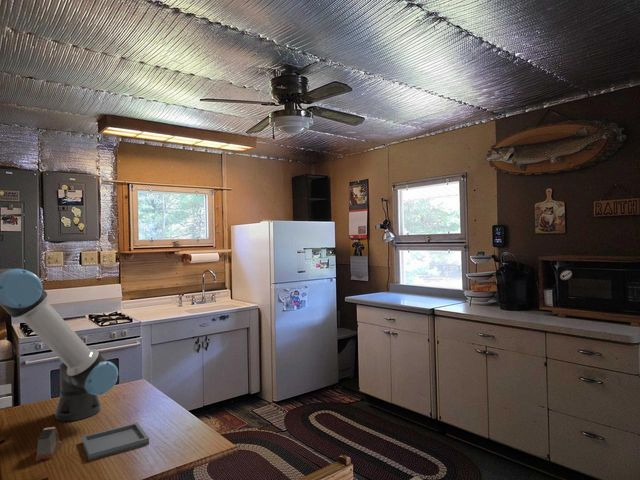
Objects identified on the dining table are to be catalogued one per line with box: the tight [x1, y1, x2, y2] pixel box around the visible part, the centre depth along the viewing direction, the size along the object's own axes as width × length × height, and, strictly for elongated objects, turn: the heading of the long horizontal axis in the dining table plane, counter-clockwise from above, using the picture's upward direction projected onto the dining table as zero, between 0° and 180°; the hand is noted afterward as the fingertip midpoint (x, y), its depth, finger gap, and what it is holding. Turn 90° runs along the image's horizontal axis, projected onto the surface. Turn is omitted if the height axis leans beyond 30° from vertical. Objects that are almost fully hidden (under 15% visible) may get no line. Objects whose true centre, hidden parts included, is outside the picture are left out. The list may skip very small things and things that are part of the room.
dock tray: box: [81, 422, 150, 462], centre depth 138 cm, size 15×17×2 cm
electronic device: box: [35, 426, 63, 462], centre depth 133 cm, size 4×10×8 cm, turn 16°
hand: (11, 394), depth 127 cm, fingers open, 13 cm apart
